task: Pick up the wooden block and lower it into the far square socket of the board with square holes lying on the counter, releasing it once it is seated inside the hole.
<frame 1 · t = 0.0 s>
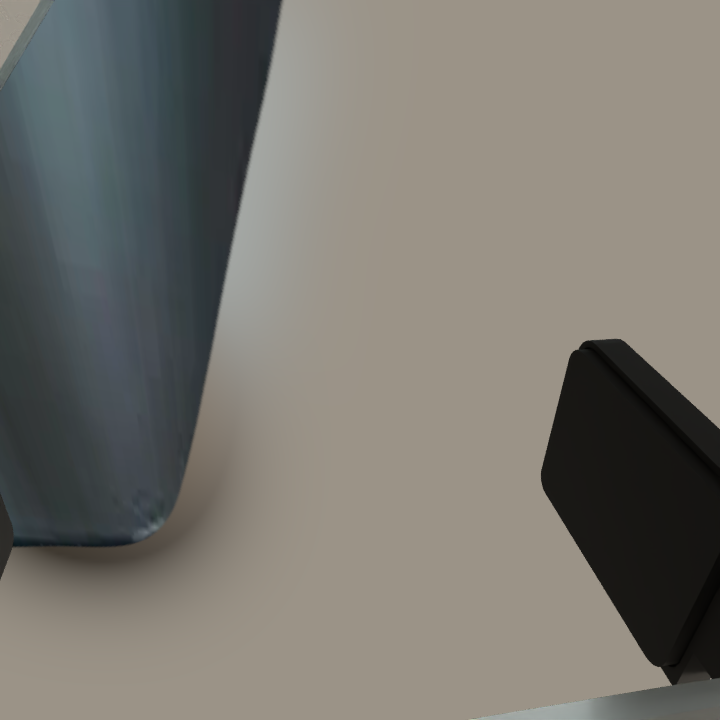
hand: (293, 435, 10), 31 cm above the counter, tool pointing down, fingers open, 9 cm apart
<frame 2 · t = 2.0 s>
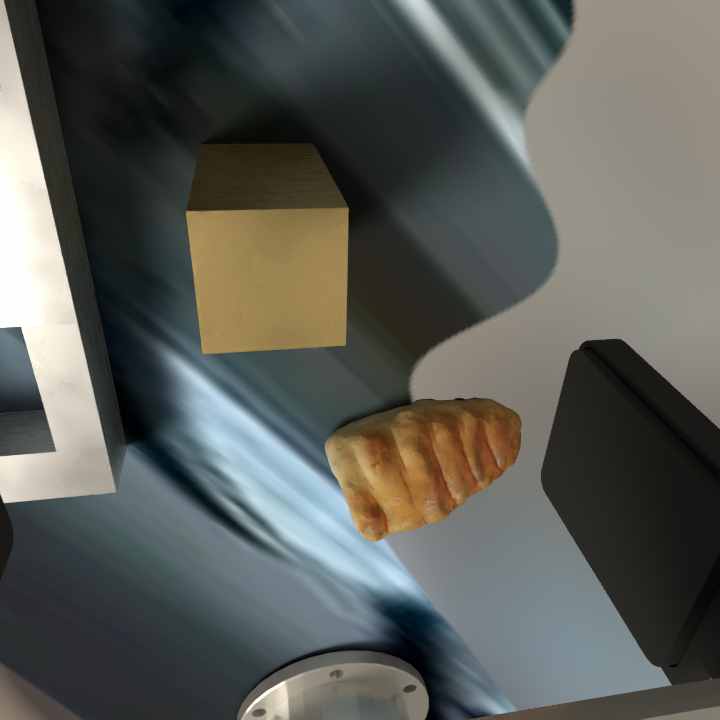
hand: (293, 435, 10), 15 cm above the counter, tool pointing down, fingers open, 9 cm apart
wooden block: (260, 199, 23), on the counter
pastry: (407, 442, 31), on the counter
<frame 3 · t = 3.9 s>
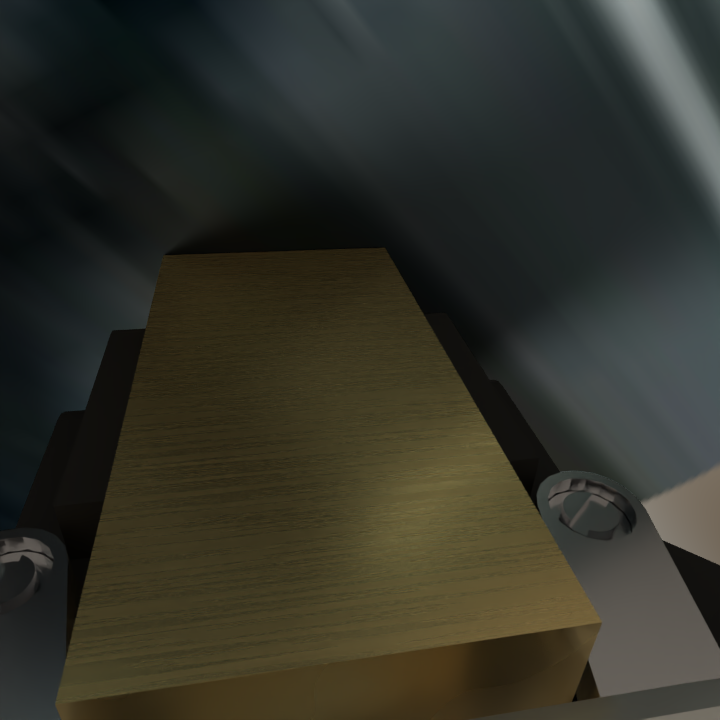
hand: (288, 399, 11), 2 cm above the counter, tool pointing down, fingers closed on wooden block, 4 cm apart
wooden block: (281, 346, 12), on the counter, touching gripper
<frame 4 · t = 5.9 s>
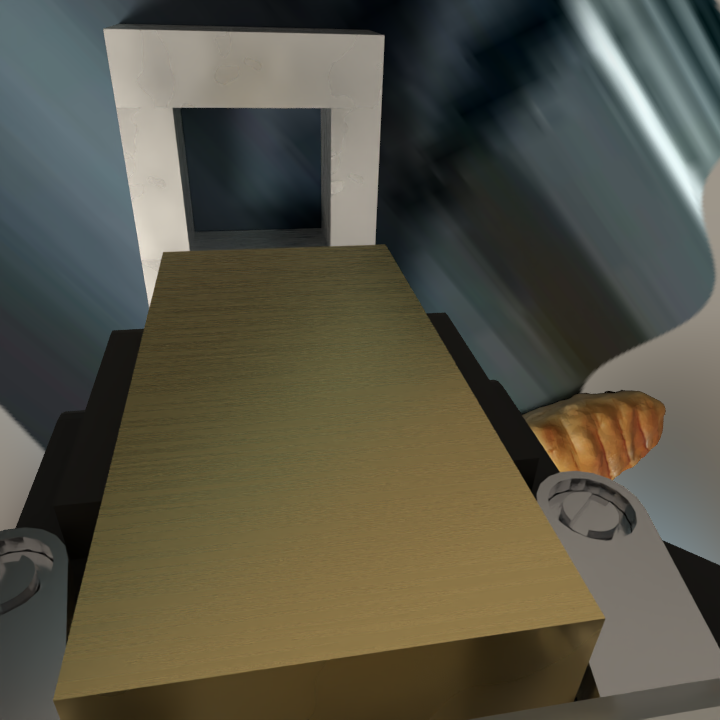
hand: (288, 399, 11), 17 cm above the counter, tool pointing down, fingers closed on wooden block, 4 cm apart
wooden block: (281, 343, 12), point 15 cm above the counter, touching gripper
board with square holes: (261, 279, 28), on the counter
pastry: (561, 430, 36), on the counter
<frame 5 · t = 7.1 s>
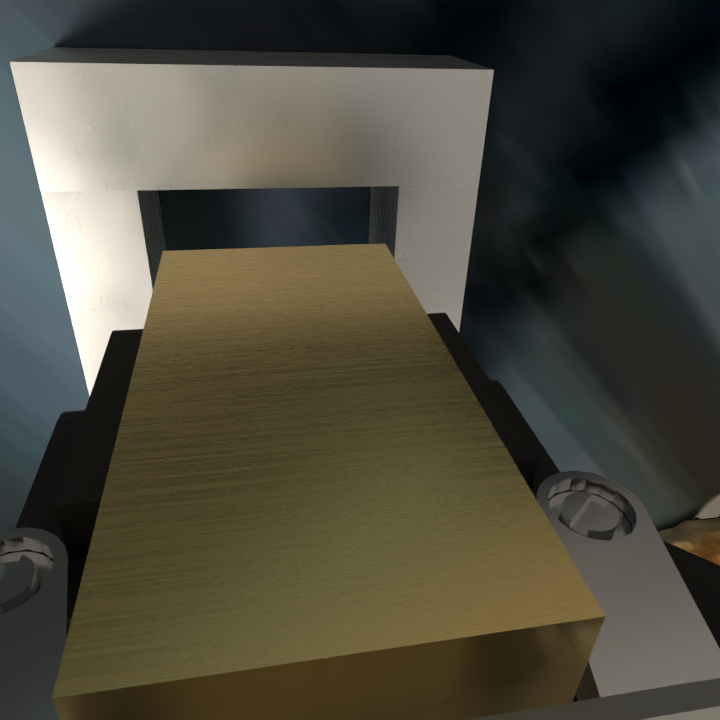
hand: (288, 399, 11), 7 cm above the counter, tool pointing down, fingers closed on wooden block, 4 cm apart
wooden block: (281, 342, 12), point 5 cm above the counter, touching gripper
board with square holes: (277, 406, 19), on the counter
pastry: (658, 559, 28), on the counter
when the fingers open (4 cm above the counter, at t = 8.0 s): wooden block drops 2 cm, resting in board with square holes.
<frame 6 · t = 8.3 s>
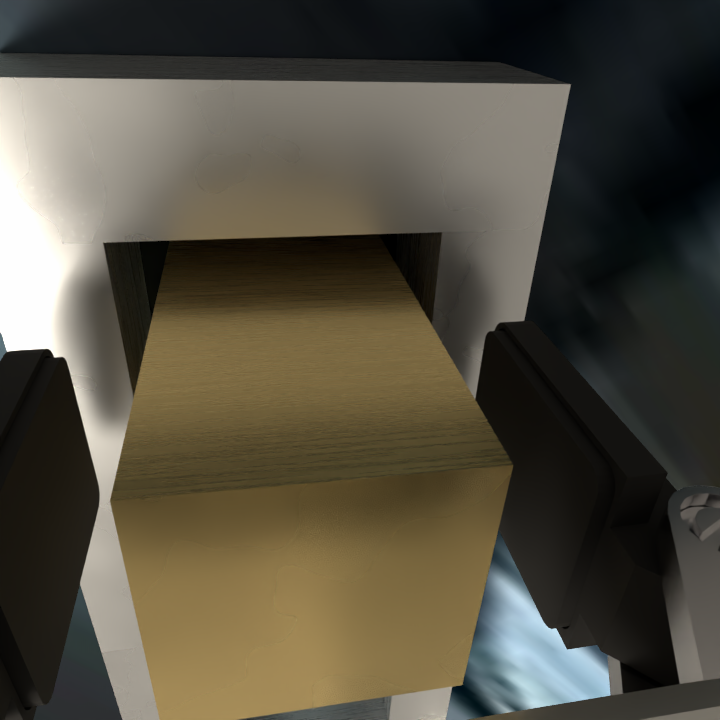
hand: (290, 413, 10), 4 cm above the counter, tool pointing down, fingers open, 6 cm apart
wooden block: (276, 304, 14), resting in board with square holes
board with square holes: (282, 472, 16), on the counter
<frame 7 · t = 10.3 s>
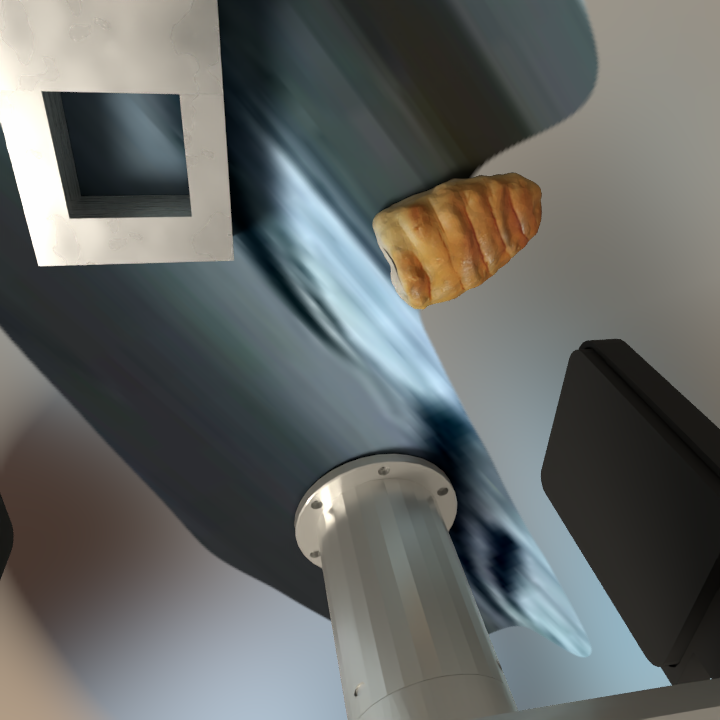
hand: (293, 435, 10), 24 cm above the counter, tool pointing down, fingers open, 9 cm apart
board with square holes: (112, 21, 26), on the counter
pastry: (442, 226, 35), on the counter
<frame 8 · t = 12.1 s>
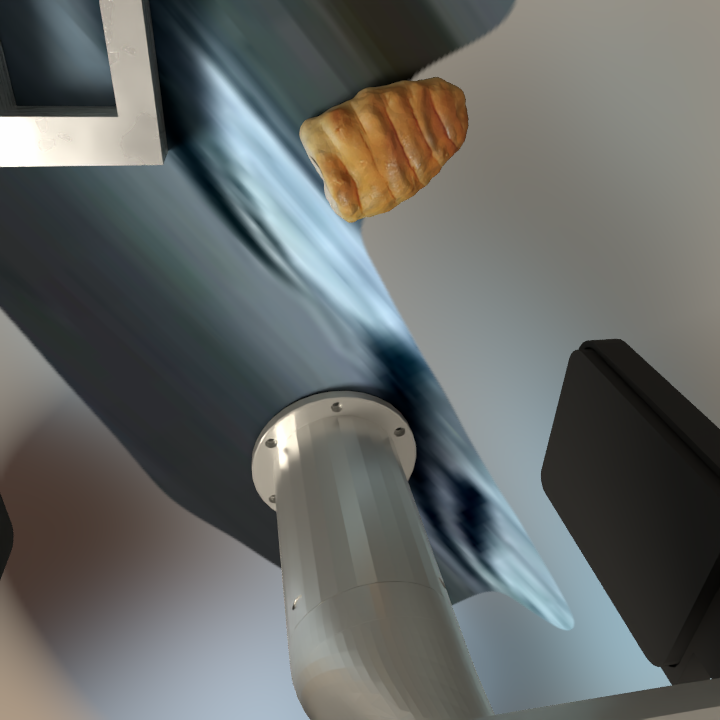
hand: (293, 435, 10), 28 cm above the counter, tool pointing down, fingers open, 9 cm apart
pastry: (373, 140, 36), on the counter
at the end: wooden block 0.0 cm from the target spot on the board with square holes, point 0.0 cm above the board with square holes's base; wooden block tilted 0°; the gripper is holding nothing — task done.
